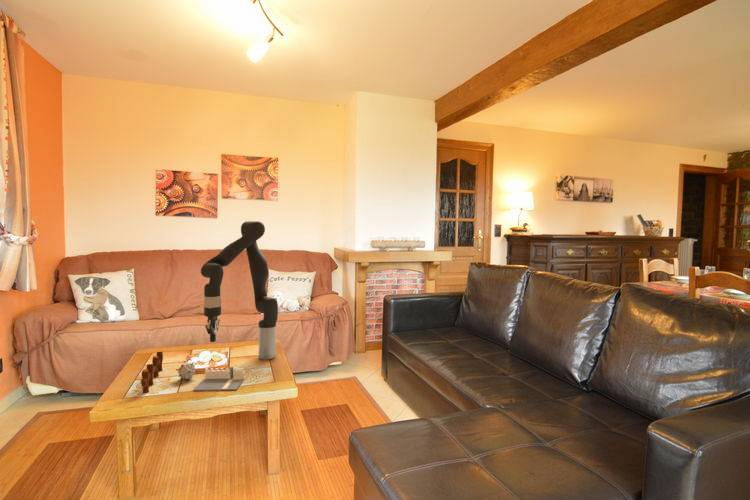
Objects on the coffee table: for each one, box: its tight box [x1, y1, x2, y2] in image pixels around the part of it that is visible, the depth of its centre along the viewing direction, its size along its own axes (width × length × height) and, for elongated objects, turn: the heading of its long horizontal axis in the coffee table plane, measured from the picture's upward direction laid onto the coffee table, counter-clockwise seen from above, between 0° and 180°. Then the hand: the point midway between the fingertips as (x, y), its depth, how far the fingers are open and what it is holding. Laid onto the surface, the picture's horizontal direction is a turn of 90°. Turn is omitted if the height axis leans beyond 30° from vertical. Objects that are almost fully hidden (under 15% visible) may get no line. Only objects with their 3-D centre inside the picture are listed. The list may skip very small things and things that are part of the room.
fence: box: [140, 351, 164, 394], centre depth 181 cm, size 34×3×10 cm, turn 17°
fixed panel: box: [233, 367, 245, 380], centre depth 182 cm, size 4×1×5 cm, turn 94°
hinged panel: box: [204, 366, 234, 379], centre depth 182 cm, size 13×1×5 cm, turn 94°
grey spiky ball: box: [175, 360, 199, 382], centre depth 182 cm, size 9×8×10 cm
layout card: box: [192, 377, 245, 392], centre depth 176 cm, size 13×18×1 cm
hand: (212, 341), depth 186 cm, fingers closed
